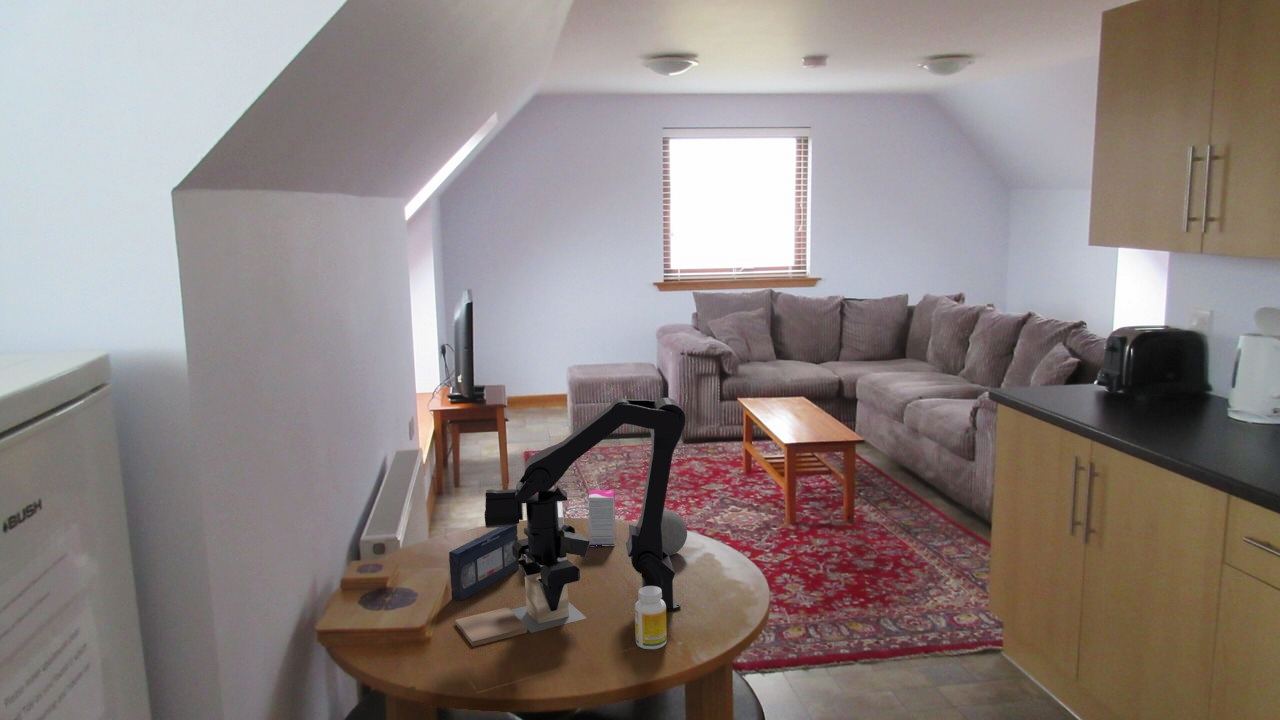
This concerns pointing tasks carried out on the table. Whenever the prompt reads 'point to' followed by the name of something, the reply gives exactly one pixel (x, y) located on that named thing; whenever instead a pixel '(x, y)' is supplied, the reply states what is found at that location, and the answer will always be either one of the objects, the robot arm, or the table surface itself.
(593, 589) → the table surface
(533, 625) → the gray tile
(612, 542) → the supplement box
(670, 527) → the decorative ball
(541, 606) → the maple block
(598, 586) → the table surface
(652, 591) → the supplement bottle
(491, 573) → the vhs cassette tape
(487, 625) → the walnut pad
